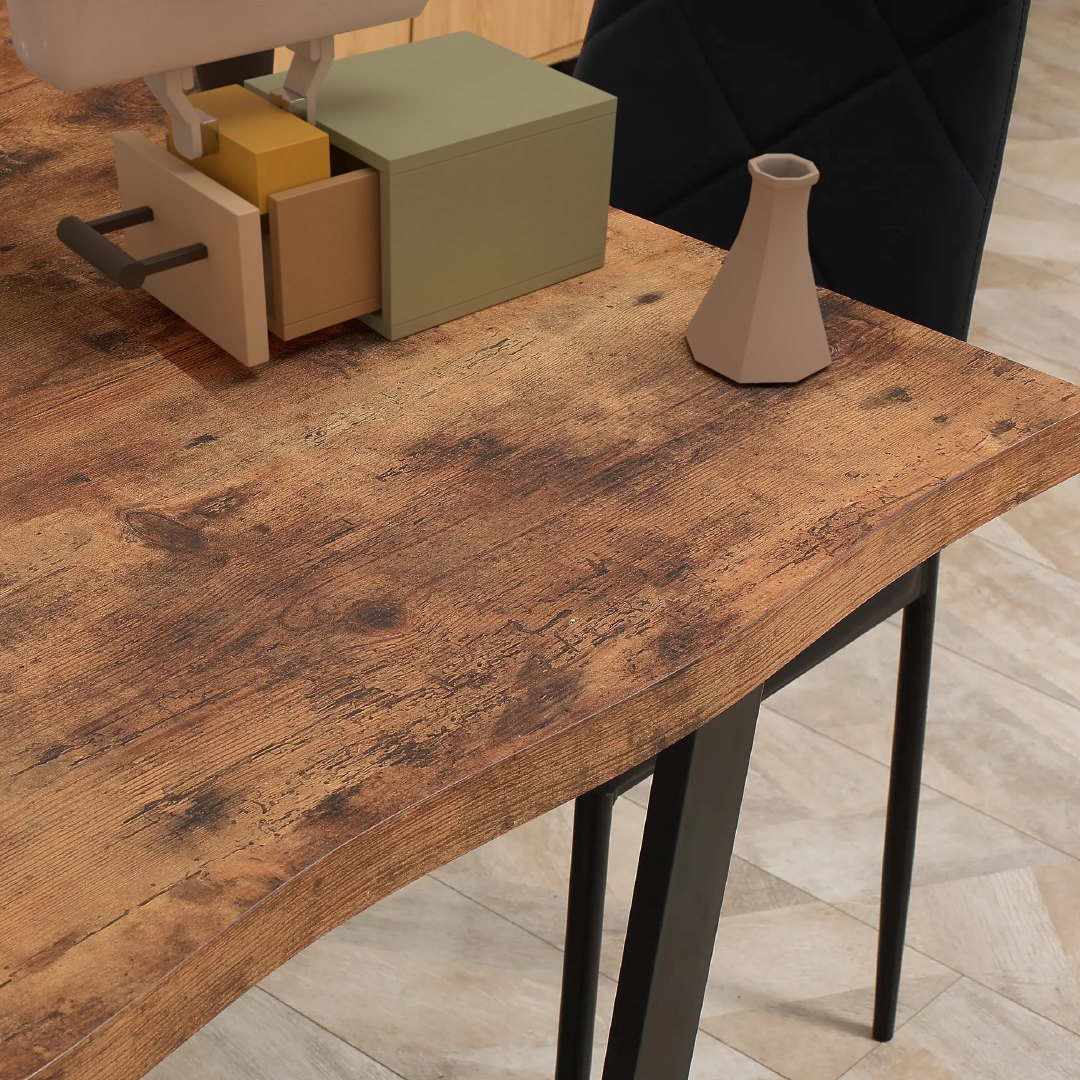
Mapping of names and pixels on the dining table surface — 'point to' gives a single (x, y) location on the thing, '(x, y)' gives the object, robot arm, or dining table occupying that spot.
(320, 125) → the cabinet
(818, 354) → the flask
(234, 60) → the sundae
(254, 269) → the drawer
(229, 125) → the yellow rectangular block
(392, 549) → the dining table surface
